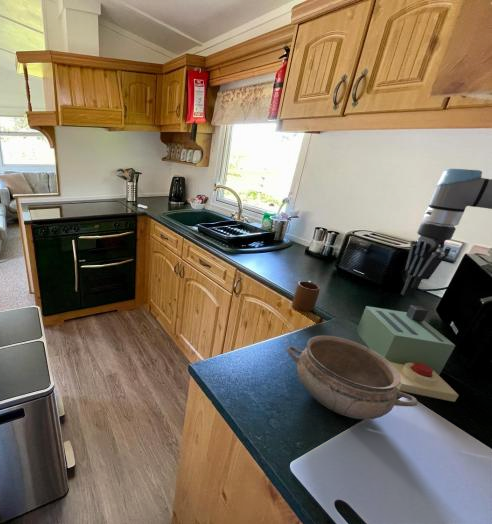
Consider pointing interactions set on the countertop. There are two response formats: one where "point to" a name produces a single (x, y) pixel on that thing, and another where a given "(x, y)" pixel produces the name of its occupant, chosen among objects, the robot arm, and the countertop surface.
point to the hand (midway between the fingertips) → (406, 295)
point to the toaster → (403, 338)
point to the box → (424, 383)
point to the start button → (422, 369)
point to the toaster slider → (417, 313)
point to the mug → (306, 296)
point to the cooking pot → (349, 377)
